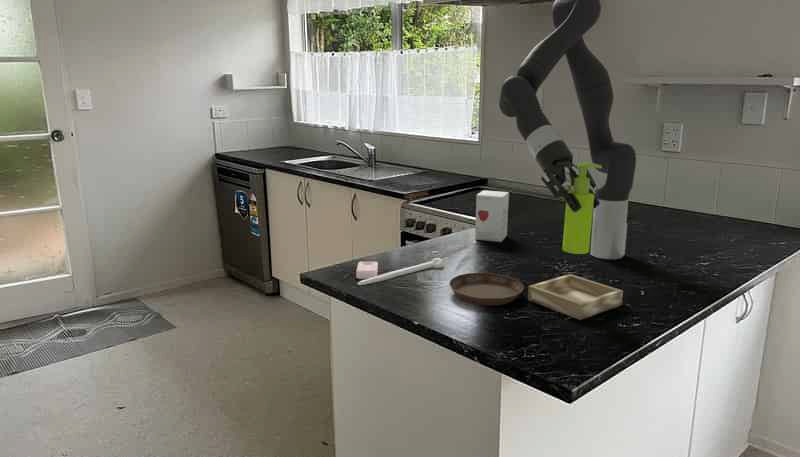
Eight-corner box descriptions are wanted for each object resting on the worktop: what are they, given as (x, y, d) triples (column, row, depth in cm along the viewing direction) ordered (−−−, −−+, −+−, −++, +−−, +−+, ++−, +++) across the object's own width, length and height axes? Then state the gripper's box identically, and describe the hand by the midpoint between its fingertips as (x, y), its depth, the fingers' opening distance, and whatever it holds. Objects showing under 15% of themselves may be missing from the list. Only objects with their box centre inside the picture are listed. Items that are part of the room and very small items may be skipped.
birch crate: (569, 287, 149) (569, 274, 149) (621, 304, 138) (623, 290, 137) (527, 300, 141) (528, 285, 140) (580, 320, 129) (581, 304, 128)
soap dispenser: (595, 255, 133) (604, 165, 128) (563, 252, 134) (570, 164, 129) (592, 248, 139) (600, 162, 134) (561, 246, 140) (568, 161, 135)
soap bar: (356, 279, 156) (356, 271, 156) (358, 269, 165) (358, 261, 165) (376, 279, 156) (376, 271, 156) (377, 269, 165) (377, 260, 165)
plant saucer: (536, 304, 139) (537, 292, 138) (465, 312, 134) (466, 300, 133) (502, 281, 155) (503, 269, 154) (438, 287, 150) (438, 276, 150)
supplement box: (474, 239, 194) (475, 194, 190) (481, 233, 202) (482, 189, 199) (501, 242, 191) (503, 196, 187) (507, 235, 199) (509, 191, 195)
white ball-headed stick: (364, 290, 149) (364, 279, 148) (355, 285, 152) (355, 275, 151) (446, 268, 166) (447, 258, 165) (437, 265, 169) (437, 255, 168)
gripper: (537, 140, 132) (577, 202, 126) (578, 137, 140) (618, 194, 134) (518, 161, 137) (555, 221, 131) (559, 157, 146) (596, 213, 139)
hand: (587, 207), depth 132 cm, fingers closed on soap dispenser, 6 cm apart
